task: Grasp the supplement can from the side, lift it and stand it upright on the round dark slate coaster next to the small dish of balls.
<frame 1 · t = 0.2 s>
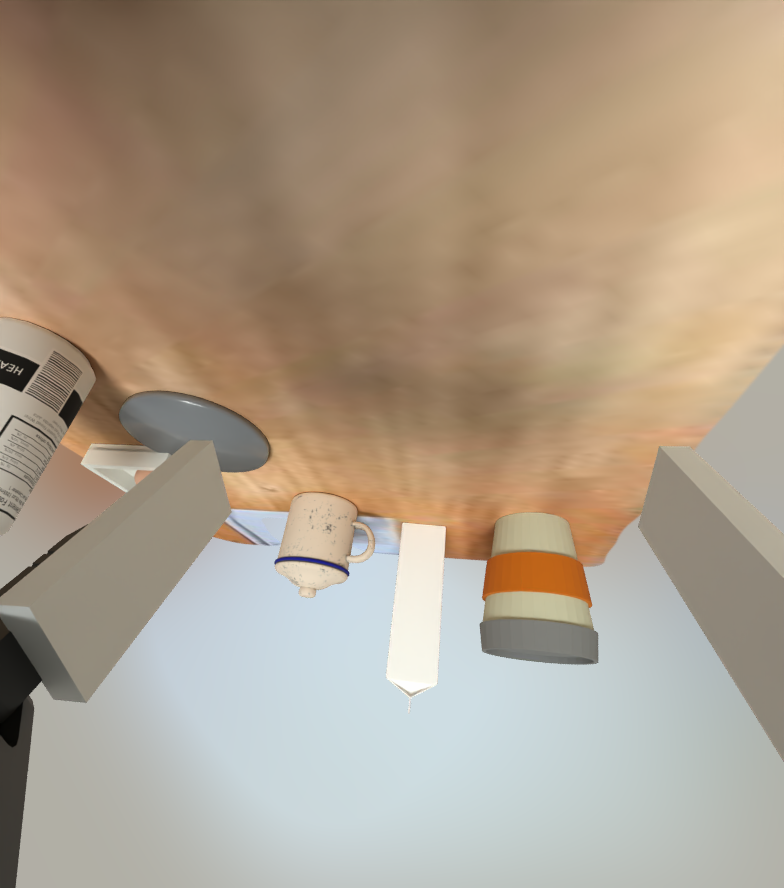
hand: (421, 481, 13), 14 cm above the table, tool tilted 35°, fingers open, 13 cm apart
milk: (423, 529, 61), on the table
teacup with lid: (336, 503, 56), on the table
ball dish: (157, 466, 51), on the table
ball terracotta: (150, 477, 48), point 2 cm above the table, touching ball dish
reusable coffee cup: (531, 524, 54), on the table
supplement can: (43, 348, 34), on the table
slate coaster: (199, 433, 43), on the table
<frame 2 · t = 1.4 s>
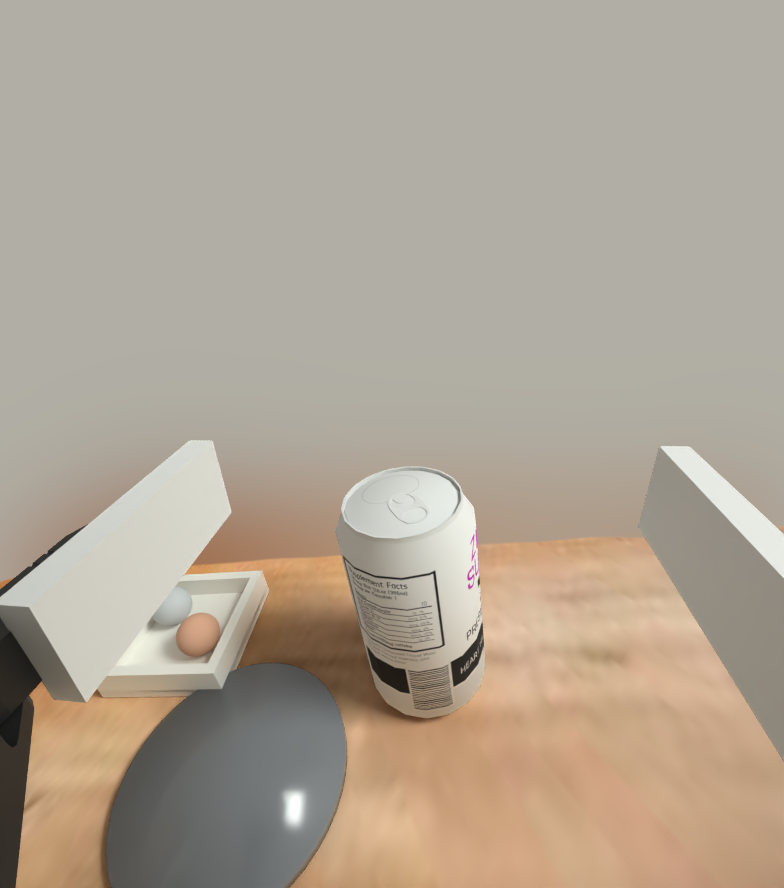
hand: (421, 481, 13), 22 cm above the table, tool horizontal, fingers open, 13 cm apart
ball grey: (172, 606, 37), point 2 cm above the table, touching ball dish
ball dish: (194, 638, 37), on the table
ball terracotta: (198, 634, 34), point 2 cm above the table, touching ball dish
supplement can: (428, 667, 31), on the table
slate coaster: (236, 774, 27), on the table
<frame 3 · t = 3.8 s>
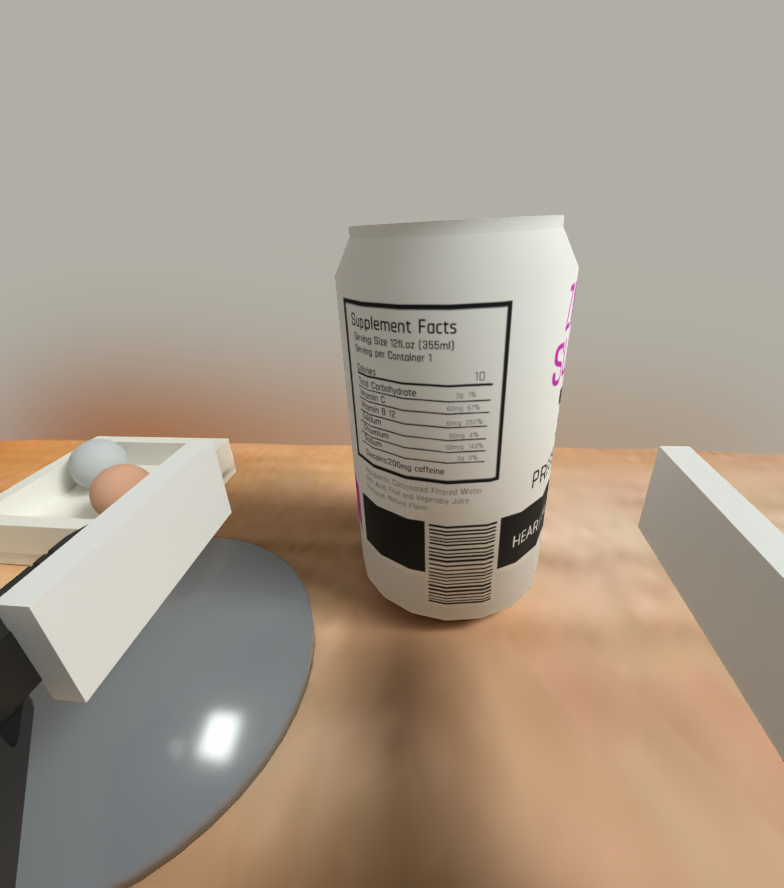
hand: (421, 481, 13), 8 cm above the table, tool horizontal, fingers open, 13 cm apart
ball grey: (99, 464, 27), point 2 cm above the table, touching ball dish
ball dish: (124, 510, 27), on the table
ball terracotta: (124, 492, 24), point 2 cm above the table, touching ball dish
supplement can: (447, 566, 21), on the table
slate coaster: (133, 670, 17), on the table
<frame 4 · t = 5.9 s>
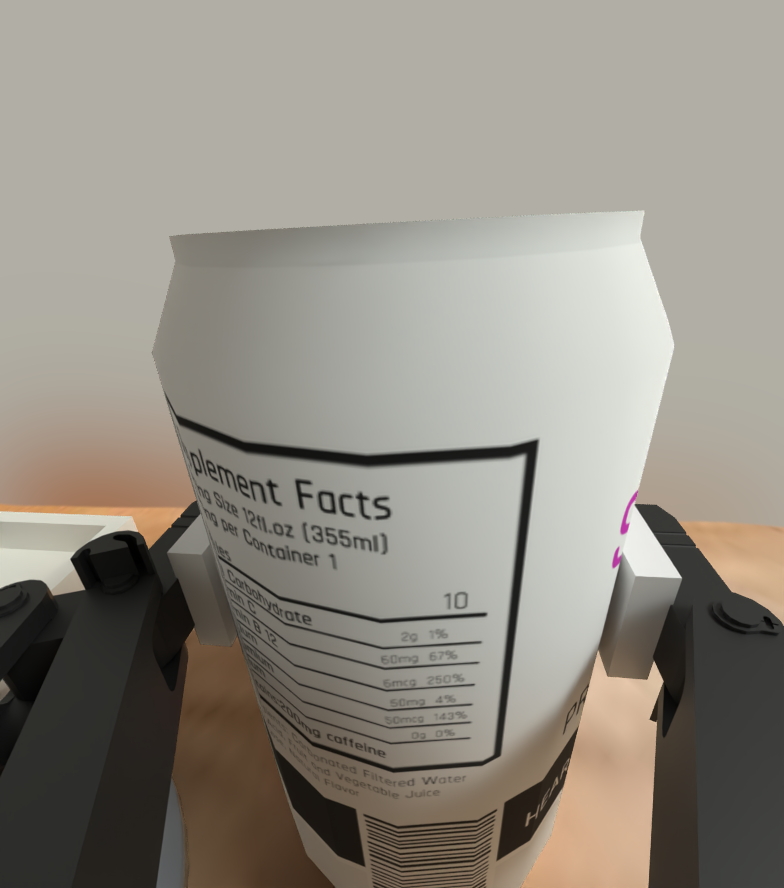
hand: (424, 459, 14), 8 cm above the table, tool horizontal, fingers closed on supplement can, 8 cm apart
supplement can: (419, 753, 14), on the table, touching gripper
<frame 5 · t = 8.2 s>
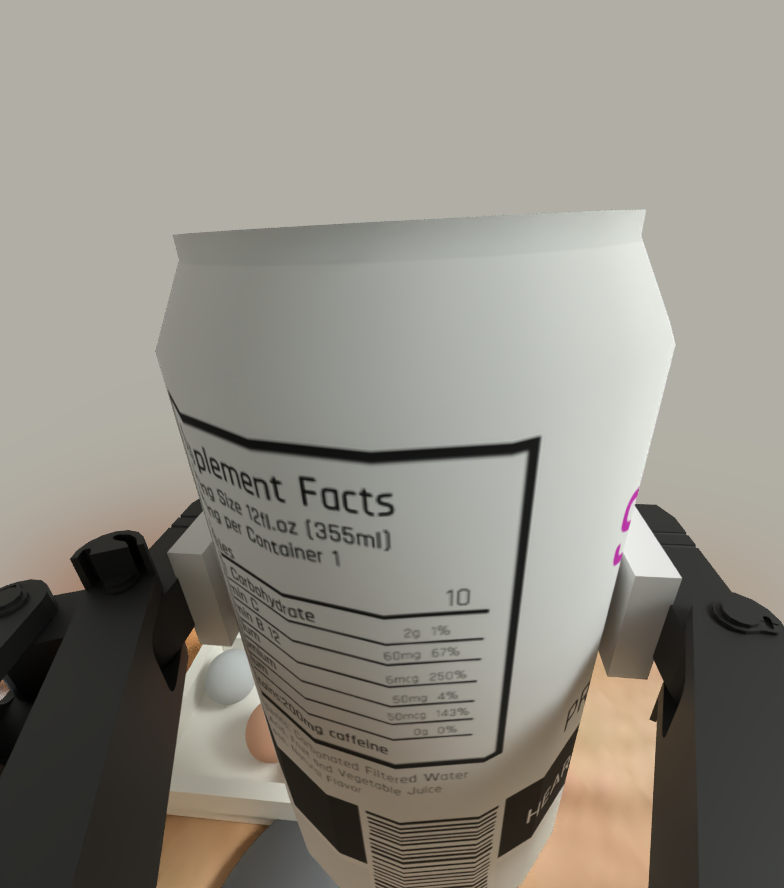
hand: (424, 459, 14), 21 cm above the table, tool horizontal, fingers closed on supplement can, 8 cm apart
ball grey: (231, 676, 28), point 2 cm above the table, touching ball dish
ball dish: (259, 724, 27), on the table
ball terracotta: (274, 728, 25), point 2 cm above the table, touching ball dish
supplement can: (420, 751, 14), point 13 cm above the table, touching gripper
when the fingers open (10 cm above the table, at t = 10.8 s): supplement can stays where it is, resting on slate coaster.
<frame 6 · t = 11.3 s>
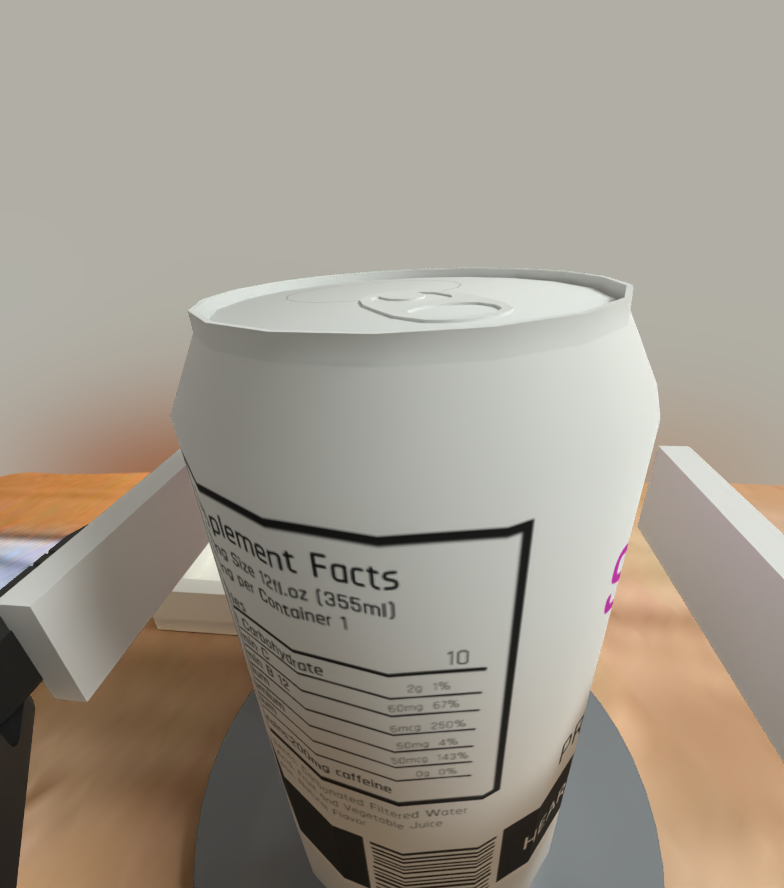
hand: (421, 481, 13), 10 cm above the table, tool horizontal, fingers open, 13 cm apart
ball dish: (291, 561, 24), on the table
supplement can: (421, 769, 14), point 1 cm above the table, touching slate coaster
slate coaster: (420, 778, 15), on the table
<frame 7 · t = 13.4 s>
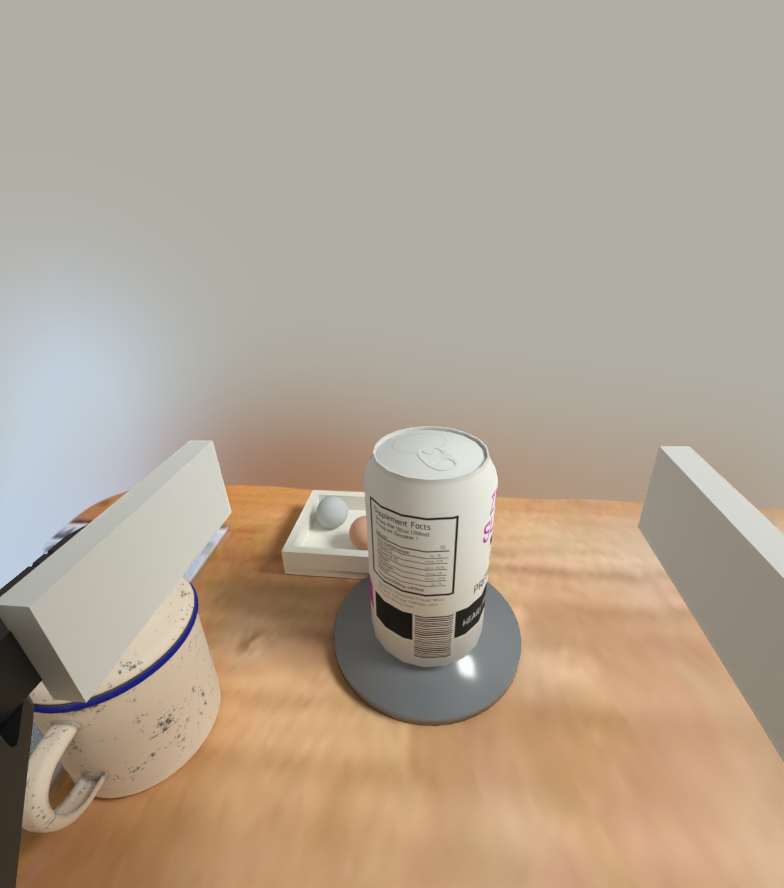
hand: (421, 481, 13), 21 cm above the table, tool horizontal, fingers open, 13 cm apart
ball grey: (332, 511, 43), point 2 cm above the table, touching ball dish
teacup with lid: (139, 747, 26), on the table
ball dish: (350, 541, 43), on the table
ball terracotta: (366, 532, 40), point 2 cm above the table, touching ball dish
supplement can: (426, 626, 33), point 1 cm above the table, touching slate coaster
slate coaster: (425, 631, 33), on the table
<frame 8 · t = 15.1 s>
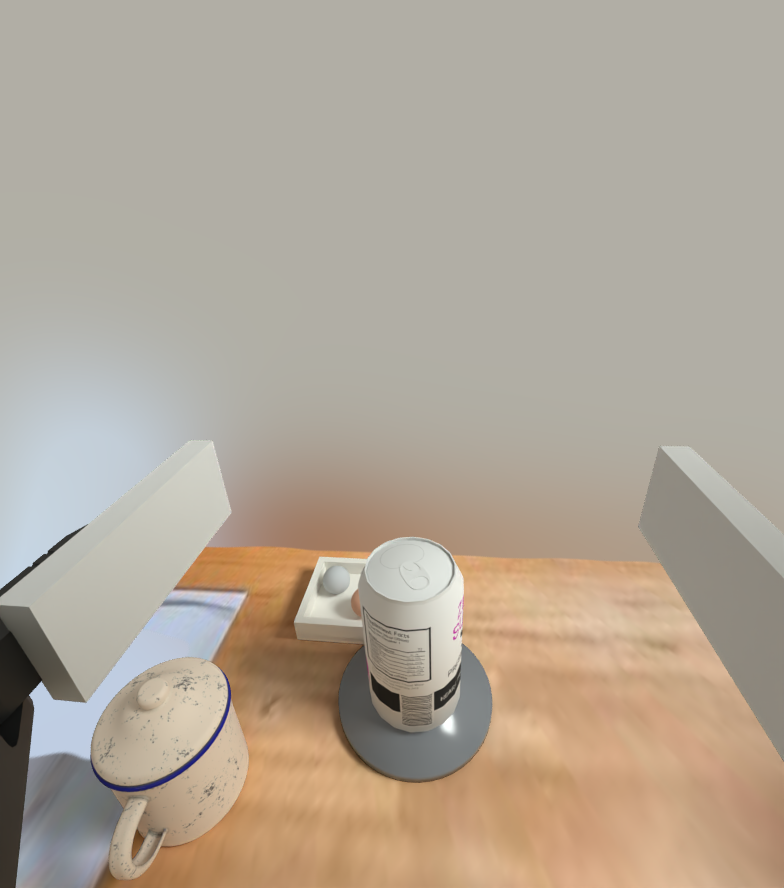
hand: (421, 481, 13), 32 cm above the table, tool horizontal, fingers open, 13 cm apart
ball grey: (336, 579, 50), point 2 cm above the table, touching ball dish
teacup with lid: (187, 802, 33), on the table
ball dish: (352, 605, 50), on the table
ball terracotta: (365, 601, 47), point 2 cm above the table, touching ball dish
supplement can: (414, 691, 40), point 1 cm above the table, touching slate coaster
slate coaster: (414, 695, 40), on the table
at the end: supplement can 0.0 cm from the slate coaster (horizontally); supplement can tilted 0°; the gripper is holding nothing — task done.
